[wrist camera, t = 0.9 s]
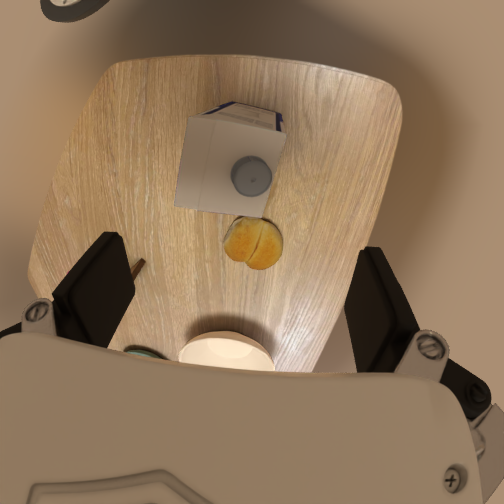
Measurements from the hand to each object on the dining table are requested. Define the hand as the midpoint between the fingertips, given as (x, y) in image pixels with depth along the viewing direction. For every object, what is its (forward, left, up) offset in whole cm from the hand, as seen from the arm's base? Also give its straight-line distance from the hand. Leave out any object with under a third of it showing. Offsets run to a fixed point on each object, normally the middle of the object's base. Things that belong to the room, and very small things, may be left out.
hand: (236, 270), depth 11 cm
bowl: (+27, -33, -30) cm, 52 cm away
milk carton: (-2, -1, -30) cm, 30 cm away
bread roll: (+11, -12, -30) cm, 34 cm away
